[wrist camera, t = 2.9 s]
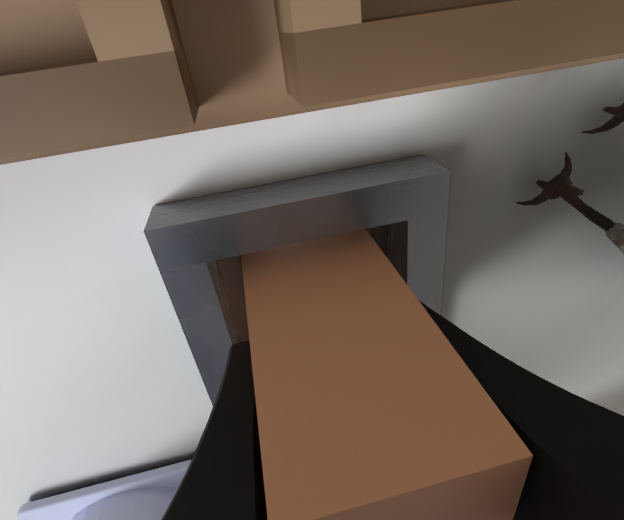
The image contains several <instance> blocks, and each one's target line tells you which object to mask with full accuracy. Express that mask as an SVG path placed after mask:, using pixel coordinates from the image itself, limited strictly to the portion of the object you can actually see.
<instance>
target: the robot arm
mask: <svg viewBox="0 0 624 520" xmlns="http://www.w3.org/2000/svg"><path fill="white" fill-rule="evenodd" d="M419 302H420V303H421V304H422V306H423V307H424V308H425V310H426V311H427V312H428V314H429V315H430V317H431V318H432V319H433V321H434V322H435V323H436V325H437V326H438V327H439V329H440V330H441V331H442V333H443V334H444V335H445V337H446V338H447V340H448V341H449V342H450V344H451V345H452V346H453V348H454V349H455V350H456V352H457V353H458V354H459V356H460V357H461V359H462V360H463V361H464V363H465V364H466V365H467V367H468V368H469V369H470V371H471V372H472V373H473V375H474V376H475V377H476V379H477V380H478V382H479V383H480V384H481V386H482V387H483V388H484V390H485V391H486V392H487V394H488V395H489V396H490V398H491V399H492V400H493V402H494V403H495V405H496V406H497V407H498V409H499V410H500V411H501V413H502V414H503V415H504V417H505V418H506V419H507V421H508V422H509V424H510V425H511V426H512V428H513V429H514V430H515V432H516V433H517V434H518V436H519V437H520V438H521V440H522V441H523V442H524V444H525V445H526V447H527V448H528V449H529V451H530V452H531V453H532V455H533V458H532V461H531V464H530V467H529V470H528V473H527V477H526V480H525V483H524V486H523V489H522V492H521V496H520V499H519V502H518V505H517V508H516V512H515V515H514V518H513V520H624V416H622V415H620V414H617V413H615V412H613V411H611V410H608V409H606V408H604V407H601V406H599V405H597V404H594V403H592V402H590V401H587V400H585V399H583V398H581V397H579V396H577V395H574V394H572V393H570V392H568V391H566V390H564V389H562V388H560V387H558V386H556V385H554V384H552V383H550V382H548V381H546V380H544V379H542V378H540V377H538V376H537V375H535V374H533V373H531V372H529V371H527V370H525V369H524V368H522V367H520V366H519V365H517V364H515V363H513V362H512V361H510V360H508V359H507V358H505V357H503V356H501V355H500V354H498V353H496V352H495V351H493V350H492V349H490V348H488V347H487V346H485V345H484V344H482V343H481V342H479V341H478V340H476V339H474V338H473V337H471V336H470V335H468V334H467V333H465V332H464V331H462V330H461V329H459V328H458V327H457V326H455V325H454V324H452V323H451V322H449V321H448V320H446V319H445V318H444V317H442V316H441V315H439V314H438V313H436V312H435V311H434V310H432V309H431V308H429V307H428V306H426V305H425V304H424V303H422V302H421V301H419ZM16 519H17V520H268V517H267V508H266V498H265V488H264V478H263V468H262V459H261V449H260V439H259V429H258V419H257V410H256V400H255V390H254V380H253V370H252V361H251V351H250V341H245V342H240V343H236V344H233V345H232V346H231V347H230V349H229V354H228V359H227V363H226V367H225V371H224V375H223V378H222V381H221V385H220V388H219V391H218V394H217V397H216V400H215V403H214V406H213V409H212V411H211V414H210V417H209V420H208V422H207V425H206V427H205V430H204V432H203V434H202V437H201V439H200V442H199V444H198V447H197V449H196V451H195V454H194V456H193V458H192V459H191V460H187V461H183V462H180V463H176V464H172V465H168V466H164V467H161V468H157V469H153V470H149V471H146V472H142V473H138V474H134V475H130V476H127V477H123V478H119V479H115V480H111V481H108V482H104V483H100V484H96V485H93V486H89V487H85V488H81V489H77V490H74V491H70V492H66V493H62V494H58V495H55V496H51V497H47V498H43V499H40V500H36V501H32V502H28V503H26V504H24V505H22V506H21V507H20V508H19V511H18V513H17V516H16Z"/></svg>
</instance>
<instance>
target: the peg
mask: <svg viewBox="0 0 624 520" xmlns="http://www.w3.org/2000/svg"><path fill="white" fill-rule="evenodd" d="M241 263H242V272H243V282H244V292H245V302H246V312H247V321H248V331H249V341H250V351H251V361H252V370H253V380H254V390H255V400H256V410H257V419H258V429H259V439H260V449H261V459H262V468H263V478H264V488H265V498H266V508H267V517H268V520H513V518H514V515H515V512H516V508H517V505H518V502H519V499H520V496H521V492H522V489H523V486H524V483H525V480H526V477H527V473H528V470H529V467H530V464H531V461H532V458H533V455H532V453H531V452H530V451H529V449H528V448H527V447H526V445H525V444H524V442H523V441H522V440H521V438H520V437H519V436H518V434H517V433H516V432H515V430H514V429H513V428H512V426H511V425H510V424H509V422H508V421H507V419H506V418H505V417H504V415H503V414H502V413H501V411H500V410H499V409H498V407H497V406H496V405H495V403H494V402H493V400H492V399H491V398H490V396H489V395H488V394H487V392H486V391H485V390H484V388H483V387H482V386H481V384H480V383H479V382H478V380H477V379H476V377H475V376H474V375H473V373H472V372H471V371H470V369H469V368H468V367H467V365H466V364H465V363H464V361H463V360H462V359H461V357H460V356H459V354H458V353H457V352H456V350H455V349H454V348H453V346H452V345H451V344H450V342H449V341H448V340H447V338H446V337H445V335H444V334H443V333H442V331H441V330H440V329H439V327H438V326H437V325H436V323H435V322H434V321H433V319H432V318H431V317H430V315H429V314H428V312H427V311H426V310H425V308H424V307H423V306H422V304H421V303H420V302H419V300H418V299H417V298H416V296H415V295H414V294H413V292H412V291H411V289H410V288H409V287H408V285H407V284H406V283H405V281H404V280H403V279H402V277H401V276H400V275H399V273H398V272H397V270H396V269H395V268H394V266H393V265H392V264H391V262H390V261H389V260H388V258H387V257H386V256H385V254H384V253H383V252H382V250H381V249H380V247H379V246H378V245H377V243H376V242H375V241H374V239H373V238H372V237H371V235H370V234H369V233H368V231H367V230H366V229H363V230H359V231H354V232H349V233H344V234H340V235H335V236H330V237H325V238H320V239H316V240H311V241H306V242H301V243H297V244H292V245H287V246H282V247H277V248H273V249H268V250H263V251H258V252H253V253H249V254H244V255H241Z"/></svg>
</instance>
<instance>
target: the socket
mask: <svg viewBox="0 0 624 520" xmlns="http://www.w3.org/2000/svg"><path fill="white" fill-rule="evenodd" d="M450 179H451V170H449V169H447V168H446V167H444V166H442V165H441V164H439V163H437V162H436V161H434V160H433V159H431V158H429V157H428V156H426V155H419V156H413V157H408V158H403V159H397V160H392V161H387V162H382V163H376V164H371V165H366V166H361V167H355V168H350V169H345V170H340V171H334V172H329V173H324V174H319V175H313V176H308V177H303V178H298V179H292V180H287V181H282V182H277V183H271V184H266V185H261V186H255V187H250V188H245V189H240V190H234V191H229V192H224V193H219V194H213V195H208V196H203V197H198V198H192V199H187V200H182V201H177V202H171V203H166V204H161V205H156V206H153V207H152V210H151V213H150V216H149V218H148V221H147V224H146V227H145V229H144V233H145V236H146V238H147V241H148V243H149V246H150V248H151V251H152V253H153V256H154V258H155V261H156V263H157V266H158V268H159V271H160V274H161V276H162V279H163V281H164V284H165V286H166V289H167V291H168V294H169V296H170V299H171V301H172V304H173V306H174V309H175V311H176V314H177V316H178V319H179V321H180V324H181V326H182V329H183V332H184V334H185V337H186V339H187V342H188V344H189V347H190V349H191V352H192V354H193V357H194V359H195V362H196V364H197V367H198V369H199V372H200V374H201V377H202V379H203V382H204V385H205V387H206V390H207V392H208V395H209V397H210V400H211V402H212V405H213V406H214V403H215V400H216V397H217V394H218V391H219V388H220V385H221V381H222V378H223V375H224V371H225V367H226V363H227V359H228V354H229V349H230V347H231V346H232V345H233V344H236V343H240V341H239V338H238V335H237V331H236V328H235V325H234V321H233V318H232V315H231V311H230V308H229V305H228V301H227V298H226V295H225V291H224V288H223V285H222V281H221V278H220V275H219V271H218V268H217V265H216V261H215V260H220V259H225V258H230V257H234V256H239V255H244V254H249V253H253V252H258V251H263V250H268V249H273V248H277V247H282V246H287V245H292V244H297V243H301V242H306V241H311V240H316V239H320V238H325V237H330V236H335V235H340V234H344V233H349V232H354V231H359V230H363V229H368V228H373V227H378V226H383V225H387V228H388V260H389V261H390V262H391V264H392V265H393V266H394V268H395V269H396V270H397V272H398V273H399V275H400V276H401V277H402V279H403V280H404V281H405V283H406V284H407V285H408V287H409V288H410V289H411V291H412V292H413V294H414V295H415V296H416V298H417V299H418V300H419V301H421V302H422V303H424V304H425V305H426V306H428V307H429V308H431V309H432V310H434V311H435V312H436V313H438V314H439V315H441V305H442V291H443V277H444V263H445V249H446V235H447V221H448V207H449V193H450Z"/></svg>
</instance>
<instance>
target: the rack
mask: <svg viewBox="0 0 624 520" xmlns="http://www.w3.org/2000/svg"><path fill="white" fill-rule="evenodd" d="M621 58H624V0H0V165H1V164H7V163H13V162H19V161H25V160H31V159H37V158H42V157H48V156H54V155H60V154H66V153H72V152H77V151H83V150H89V149H95V148H101V147H107V146H112V145H118V144H124V143H130V142H136V141H142V140H148V139H153V138H159V137H165V136H171V135H177V134H183V133H188V132H194V131H200V130H206V129H212V128H218V127H223V126H229V125H235V124H241V123H247V122H253V121H259V120H264V119H270V118H276V117H282V116H288V115H294V114H299V113H305V112H311V111H317V110H323V109H329V108H334V107H340V106H346V105H352V104H358V103H364V102H370V101H375V100H381V99H387V98H393V97H399V96H405V95H410V94H416V93H422V92H428V91H434V90H440V89H445V88H451V87H457V86H463V85H469V84H475V83H481V82H486V81H492V80H498V79H504V78H510V77H516V76H521V75H527V74H533V73H539V72H545V71H551V70H556V69H562V68H568V67H574V66H580V65H586V64H592V63H597V62H603V61H609V60H615V59H621Z"/></svg>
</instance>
